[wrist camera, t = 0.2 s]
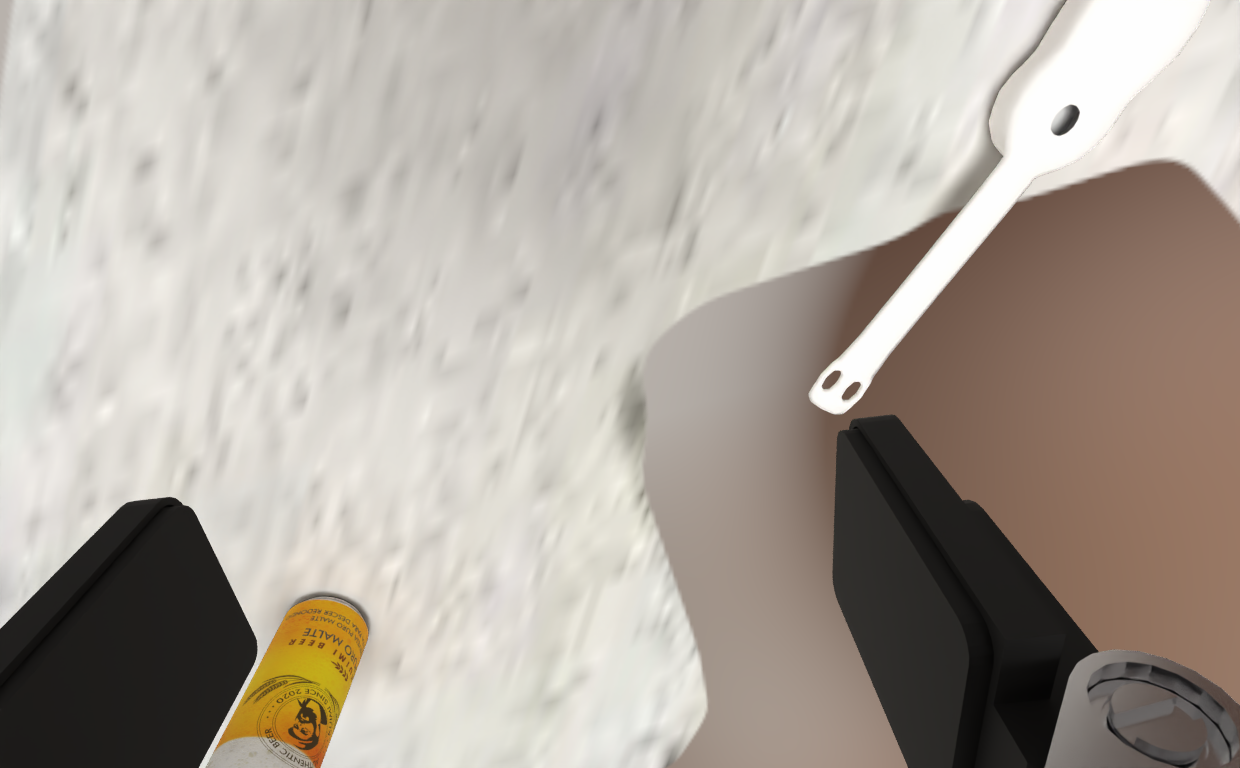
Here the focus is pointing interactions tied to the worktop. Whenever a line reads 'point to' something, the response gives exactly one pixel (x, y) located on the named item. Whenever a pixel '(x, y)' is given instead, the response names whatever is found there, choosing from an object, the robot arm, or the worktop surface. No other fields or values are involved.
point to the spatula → (1031, 147)
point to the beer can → (296, 689)
